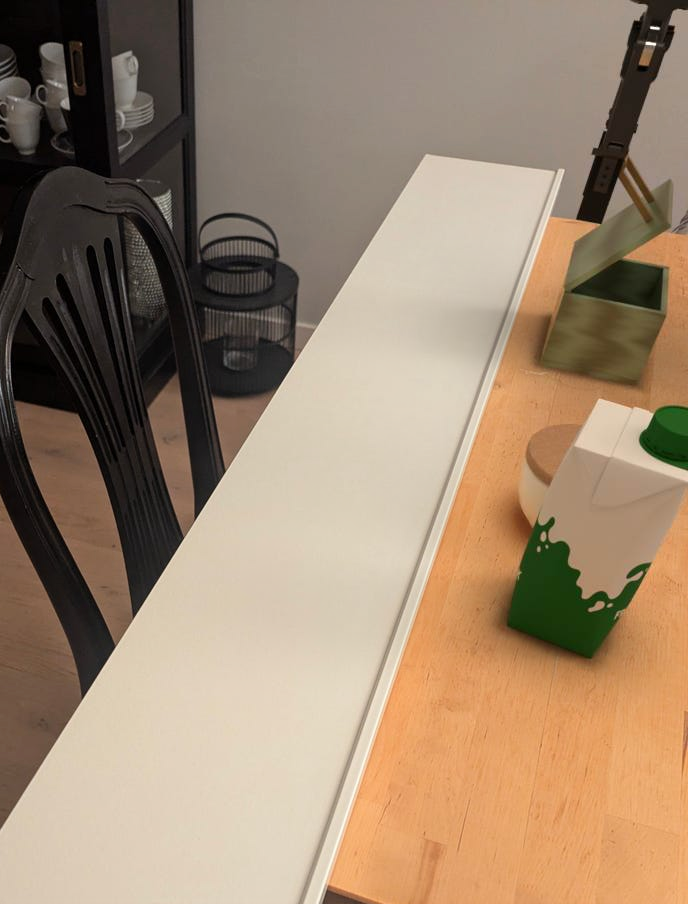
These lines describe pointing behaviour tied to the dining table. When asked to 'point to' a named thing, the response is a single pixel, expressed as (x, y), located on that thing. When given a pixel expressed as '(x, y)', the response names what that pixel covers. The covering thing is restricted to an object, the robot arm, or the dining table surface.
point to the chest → (609, 322)
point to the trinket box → (543, 465)
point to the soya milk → (601, 524)
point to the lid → (622, 228)
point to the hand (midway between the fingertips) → (591, 208)
